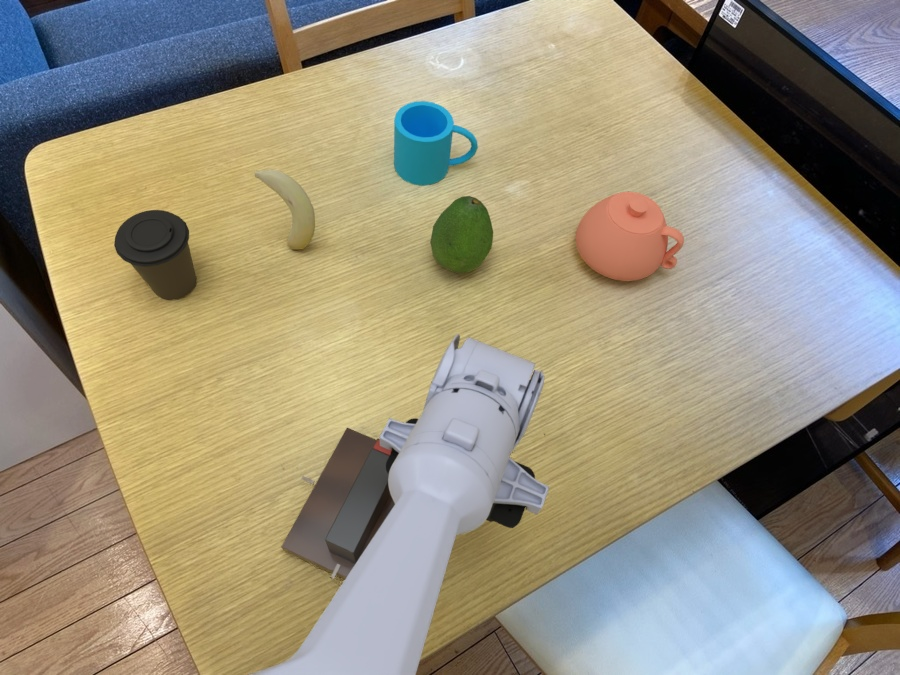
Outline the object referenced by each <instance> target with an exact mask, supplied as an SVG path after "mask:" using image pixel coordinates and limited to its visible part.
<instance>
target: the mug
mask: <svg viewBox="0 0 900 675" xmlns="http://www.w3.org/2000/svg"><path fill="white" fill-rule="evenodd" d="M393 120H394V123H393V126H394V127H393V166H394V170H395V173H396V174H397V175H398V177H399V178H401V179H402V180H403V181H405V182H407V183H409V184H412V185H415V186H431V185H434V184H438V183H440V181H442V180H443V179H445V178H446V176H447V175H448V173H449V168H450V167H453V166H457V165H458V166H459V165H462V164H465V163H466V162H468V161H470V160H471V159H472V158H473V157H475V155H476V153H477V152H478V148H479V145H478V140H477V138H476V137H475V135H474V133H472V132H471V131H470V130H468V129H467V128H465V127H463V126H460V125H457V124H455V122H454V118H453V115H452V114H451V112H450V111H449V110H448V109H447V108H445V107H443V105H441V104H438V103H435V102H432V101H425V100H421V101H419V100H418V101H413V102H409V103H406V104H405V105H402V106H401V107H400V108H399V109H398V110H397V111H396V113H395V116H394V119H393ZM453 133H455V134H459V135H461V136H463V137H465V138H466V139H467V140H468V141H469V142H470V148H469V150H468V151H467V152H466V153H464V154H463V155H461V156H457V157H453V158H451V151H452V143H453V135H454V134H453Z"/></svg>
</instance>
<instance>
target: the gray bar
mask: <svg viewBox="0 0 900 675" xmlns="http://www.w3.org/2000/svg"><path fill="white" fill-rule="evenodd" d="M375 440H376V442H375V443H374V445H373V447H372V449H371V451H370V453H369V455H368V457H367V459H366V461H365V463H364V465H363V467H362V469H361V471H360V472H359V474H358V476H357V478H356V480H355V482H354V484H353V486H352V488H351V490H350V492H349V494H348V496H347V498H346V500H345V502H344V503H343V505H342V507H341V509H340V511H339V513H338V515H337V517H336V519H335V521H334V523H333V525H332V527H331V529H330V531H329V533H328V534H327V536H326V538H325V542H326V544H327V547H328V549H329V552H331V553H334V554H336V555H338V556H340V557H342V558H344V559H346V560H349V561H351V562H353V563H355V564H356V562H357V561H358V559H359V557H360V555H361V552H362V550H363V548H364V546H365V544H366V542H367V540H368V538H369V536H370V534H371V532H372V530H373V527H374V525H375V523H376V521H377V519H378V517H379V515H380V513H381V511H382V509H383V507H384V505H385V502H386V500H387V498H388V496H389V494H390V491H389V486H388V477H389V474H388V473H387V472H386V462H387V460H388V458H389V456H390V454H391V451H392V449H390V450H389V449H386V448H384V447H381V446H380V438H376V439H375Z"/></svg>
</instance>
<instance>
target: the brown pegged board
mask: <svg viewBox="0 0 900 675" xmlns="http://www.w3.org/2000/svg"><path fill="white" fill-rule="evenodd" d="M376 440H377V439H375V438H372V437H371V436H368V435H365V434H363V433H361V432H359V431H356V430H354V429H352V428H349V427H346V429H344V432H343V434H342V435H341V437H340V439H339V441H338V443H337V444H336V447H335V448H334V450H333V452H332V454H331V455H330V457H329V460H328V461H327V463H326V464H325V467H324V468H323V470H322V472H321V474H320V476H319V477H318V479H317V481H316V480H314V479H311V478H309V477H307V476H304V475H302V477H301V480H302V481H304V482H307V483H309V484H310V485H314V487H313V488H312V490H311V491H310V494H309V496H308V497H307V499H306V501H305V502H304V504H303V507H301V510H300V512H299V514H298V515H297V518H296V519H295V520H294V522H293V525H292V527H291V528H290V530H289V532H288V534H287V536H286V537H285V539H284V541H283V543H282V545H281V547H280V548H281V549H282V550H283V551H284V552H285V553H287V554H289V555H291V556H293V557H295V558H297V559H299V560H302V561H303V562H306V563H308V564H310V565H312V566H315V567H316V568H319V569H320V570H323V571H325V572H327V573H330V574H331V576H330V578H331V579H332V580H335V578H336V577H338V578H340V579H342V580H343V581H344V580H345V579H346V577H347V576H348V574H349V573H350V571H351V570H352V568H353V567H354V565H355V563H353V562H351V561H349V560H346V559H344V558H342V557H340V556H338V555H336V554H334V553H331V552H329V549H328V547H327V544H326V542H325V538H326V536H327V534H328V533H329V531H330V529H331V527H332V525H333V523H334V521H335V519H336V517H337V515H338V513H339V511H340V509H341V507H342V505H343V503H344V502H345V500H346V498H347V496H348V494H349V492H350V490H351V488H352V486H353V484H354V482H355V480H356V478H357V476H358V474H359V472H360V471H361V469H362V467H363V465H364V463H365V461H366V459H367V457H368V455H369V453H370V451H371V449H372V447H373V445H374V443H375V442H376ZM394 505H395V503H394V501H393V499H392V497H391V494H389V496H388V498H387V500H386V502H385V505H384V507H383V509H382V511H381V513H380V515H379V517H378V519H377V521H376V523H375V525H374V527H373V530H372V532H371V534H370V536H369V538H368V540H367V542H366V544H365V546H364V548H363V550H362V552H361V555H362V553H363V552H364V550H365V549H366V547H367V546H368V544H369V543H370V541H371V540H372V538H373V537H374V535H375V534H376V532H377V531H378V529H379V528H380V526H381V525H382V523H383V522H384V520H385V519H386V517H387V516H388V514H389V513H390V511H391V510H392V508H393V507H394ZM361 555H360V556H361ZM359 558H360V557H359Z"/></svg>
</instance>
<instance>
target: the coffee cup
mask: <svg viewBox="0 0 900 675" xmlns="http://www.w3.org/2000/svg"><path fill="white" fill-rule="evenodd" d="M189 240H190V229H189V227H188V225H187V222H186V221H185V220H184V219H182V218H181V216H179V215H177V214H174V213H173V212H171V211H167V210H162V209H150V210H145V211H140V212H138V213H135V214H133V215H132V216H129V218H127V219H126V220H125V221H124V222H123V223H121V225H120V226H119V228H118V229H117V231H116V234H115V236H114V242H113V243H114V250H115V253H116V255H118V256H119V258H120V259H121V260H123V261H124V262H126V263H128V264H130V266H132V267H133V268H134V270H135V271H136V272H137V273H138V275H139V276H140V277H141V278H142V279H143V281H144V282H145V283H146V284H147V285H148V287H149V288H150V289H151V290H152V291H153V293H154V294H155V295H156V296H157V297H159V298H160V299H163V300H166V301H177V300H181V299H182V298H186V297H187V296H188V295H190V294H191V293H193V291H194V290H195V288H196V286H197V283H198V280H197V279H198V278H197V277H198V276H197V273H196V269H195V264H194V261H193V257H192V253H191V252H192V251H191V249H190V245H189Z"/></svg>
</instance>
